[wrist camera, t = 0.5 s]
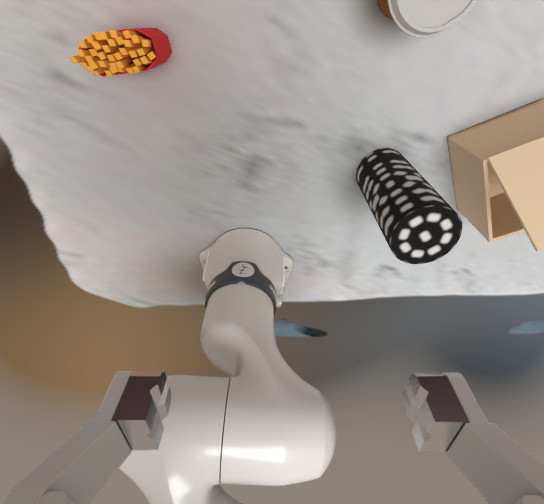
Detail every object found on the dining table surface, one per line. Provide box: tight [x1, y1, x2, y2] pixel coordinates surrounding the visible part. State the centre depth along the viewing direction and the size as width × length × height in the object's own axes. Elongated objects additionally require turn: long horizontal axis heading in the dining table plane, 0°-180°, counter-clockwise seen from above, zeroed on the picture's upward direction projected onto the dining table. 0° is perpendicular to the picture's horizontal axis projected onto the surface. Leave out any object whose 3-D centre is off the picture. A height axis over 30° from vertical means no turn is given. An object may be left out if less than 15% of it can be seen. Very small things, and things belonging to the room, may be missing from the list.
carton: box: [447, 98, 544, 242], centre depth 49 cm, size 14×18×11 cm
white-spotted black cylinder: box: [356, 148, 462, 264], centre depth 47 cm, size 8×8×20 cm
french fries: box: [68, 28, 172, 77], centre depth 40 cm, size 9×4×13 cm, turn 97°
